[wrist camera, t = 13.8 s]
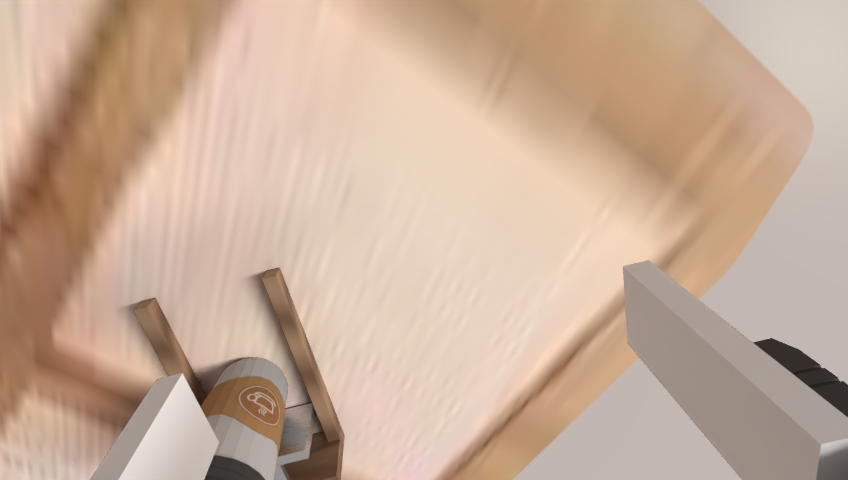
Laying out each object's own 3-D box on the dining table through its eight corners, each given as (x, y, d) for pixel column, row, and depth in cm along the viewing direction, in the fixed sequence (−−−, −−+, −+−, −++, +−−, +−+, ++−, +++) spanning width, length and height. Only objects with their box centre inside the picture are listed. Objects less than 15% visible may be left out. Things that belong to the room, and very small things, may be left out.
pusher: (223, 424, 47) (202, 474, 41) (313, 402, 47) (304, 450, 41) (237, 451, 48) (219, 503, 43) (324, 430, 48) (317, 479, 43)
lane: (141, 301, 41) (105, 340, 36) (279, 267, 41) (264, 301, 36) (228, 463, 49) (209, 516, 44) (344, 435, 49) (340, 485, 44)
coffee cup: (317, 377, 46) (291, 519, 32) (264, 429, 48) (218, 585, 34) (244, 330, 43) (182, 463, 30) (192, 387, 45) (110, 537, 31)
